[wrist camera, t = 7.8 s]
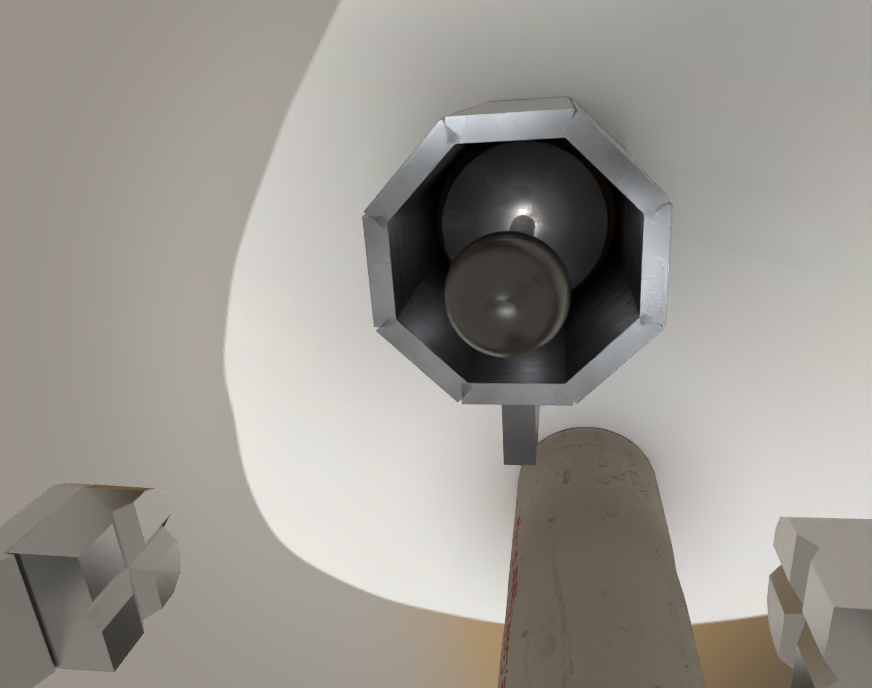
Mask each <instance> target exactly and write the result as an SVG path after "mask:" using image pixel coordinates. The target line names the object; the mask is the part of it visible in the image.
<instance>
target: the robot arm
mask: <svg viewBox="0 0 872 688" xmlns="http://www.w3.org/2000/svg"><path fill="white" fill-rule="evenodd" d="M169 516H170V511H169V508H168V505H167V501H166V498H165V495H164V494H163V493H161V492H160V491H158V490H156V489H155V488H140V487H126V486H110V485H90V484H75V483H63V484H57V485H52V486H51V487H50V488H48V489H47V490H46V491H45V492H43V493H42V494H41V495H40V496H38V497H37V498H36V499H35V500H33V501H32V502H31V503H30V504H28V505H27V506H26V507H25V508H23V509H22V510H21V511H20V512H19V513H17V514H16V515H15V516H13V517H12V518H11V519H10V520H8V521H7V522H6V523H4V524H3V525H2V526H1V527H0V688H33V687H34V686H35V685H37V684H38V683H40V682H41V681H42V680H44V679H45V678H47V677H48V676H50V675H51V674H53V673H54V672H55V668H61V669H75V670H90V671H105V672H115V671H116V669H117V668H118V667H119V665H120V664H121V663H122V661H123V660H124V659H125V657H126V656H127V655H128V653H129V652H130V651H131V649H132V648H133V647H134V646H135V644H136V643H137V642H138V640H139V639H140V638H141V636H142V635H143V634H144V627H143V620H144V619H145V618H147V617H149V616H150V615H152V614H154V613H155V612H157V611H159V610H160V609H162V608H163V607H164V605H165V604H166V602H167V601H168V600H169V598H170V597H171V596H172V594H173V592H174V590H175V587H176V584H177V580H178V577H179V574H180V552H179V547H178V543H177V540H176V539H175V538H174V537H173V536H172V535H171V534H170V533H169V532H168V531H167V530H166V529H165V528H164V526H165V524H166V522H167V520H168V518H169ZM774 548H775V550H776V552H777V555H778V557H779V559H780V562H781V564H782V565H780V566H779V567H778V568H777V569H776V570H775V571H774V572H773V573H772V574H771V575H769V584H768V595H767V605H768V620H769V626H770V630H771V635H772V640H773V642H774V645H775V648H776V651H777V654H778V657H779V658H780V659H781V660H782V661H784V662H785V663H786V664H787V665H788V666H790V667H791V668H792V669H793V674H792V681H791V688H872V519H845V518H811V517H780V519H779V521H778V524H777V526H776V531H775V538H774Z"/></svg>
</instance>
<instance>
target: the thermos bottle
mask: <svg viewBox="0 0 872 688" xmlns="http://www.w3.org/2000/svg"><path fill="white" fill-rule="evenodd" d="M498 688H706V684H705V680H704V675H703V671H702V667H701V663H700V659H699V655H698V651H697V647H696V643H695V638H694V634H693V631H692V626H691V622H690V618H689V613H688V609H687V605H686V602H685V598H684V594H683V591H682V588H681V585H680V582H679V579H678V576H677V572H676V568H675V561H674V554H673V549H672V544H671V540H670V535H669V531H668V527H667V523H666V518H665V514H664V510H663V506H662V502H661V498H660V494H659V489H658V485H657V481H656V477H655V473H654V470H653V468H652V466H651V464H650V462H649V460H648V459H647V457H646V456H645V455H644V454H643V452H642V451H641V450H640V449H639V448H638V447H637V446H635V445H634V444H633V443H632V442H631V441H629V440H627V439H625V438H623V437H622V436H620V435H618V434H615V433H612V432H609V431H606V430H601V429H595V428H575V429H570V430H565V431H562V432H559V433H557V434H554V435H551V436H550V437H548V438H547V439H545V440H543V441H542V442H540V443H539V444H538V445H537V460H536V465H523V466H522V468H521V471H520V476H519V482H518V491H517V501H516V511H515V521H514V531H513V541H512V551H511V561H510V571H509V582H508V596H507V608H506V618H505V626H504V634H503V642H502V652H501V661H500V671H499V681H498Z"/></svg>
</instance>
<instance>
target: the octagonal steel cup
mask: <svg viewBox="0 0 872 688" xmlns="http://www.w3.org/2000/svg"><path fill="white" fill-rule="evenodd" d="M517 140H537V141H543V142H547V143H551V144H554V145H556V146H559V147H561V148H563V149H565V150H567V151H568V152H570V153H572V154H573V155H575V156H576V157H577V158H578V159H579V160H581V161H582V162H583V163H584V164H585V165H586V167H587V168H588V169H589V170H590V171H591V173H592V174H593V176H594V177H595V179H596V181H597V183H598V185H599V187H600V189H601V191H602V194H603V197H604V201H605V205H606V210H607V223H608V224H607V235H606V239H605V244H604V247H603V250H602V253H601V255H600V257H599V259H598V261H597V263H596V265H595V266H594V268H593V269H592V270H591V272H590V273H589V274H588V276H587V277H586V278H585V279H584V280H583V281H582V282H581V283H580V284H579V285H577V286H576V287H575V288H574V289H572V290H571V303H570V308H569V312H568V315H567V318H566V320H565V322H564V324H563V326H562V327H561V329H560V330H559V332H558V333H557V334H556V336H555V337H554V338H553V339H552V340H551V341H550V342H548V343H547V344H546V345H545V346H543V347H542V348H540V349H538V350H536V351H534V352H532V353H530V354H527V355H524V356H519V357H512V358H502V357H495V356H490V355H487V354H484V353H482V352H480V351H477V350H476V349H474V348H472V347H471V346H470V345H468V344H467V343H466V342H465V341H464V340H463V339H462V338H461V337H460V336H459V335H458V334H457V332H456V331H455V330H454V328H453V327H452V325H451V323H450V321H449V319H448V316H447V313H446V309H445V303H444V285H445V280H446V277H447V273H448V271H449V268H450V266H451V264H452V262H451V260H450V258H449V255H448V253H447V250H446V247H445V243H444V239H443V231H442V217H443V210H444V205H445V202H446V198H447V196H448V193H449V191H450V188H451V187H452V185H453V183H454V181H455V180H456V178H457V177H458V176H459V174H460V173H461V172H462V170H463V169H464V168H465V167H466V166H467V165H468V164H469V163H470V162H471V161H472V160H474V159H475V158H476V157H477V156H479V155H480V154H481V153H483V152H485V151H487V150H488V149H490V148H492V147H495V146H497V145H500V144H503V143H507V142H510V141H517ZM669 201H670V199H669V198H668V197H667V195H666V194H665V193H664V192H663V191H662V190H661V189H660V188H659V187H658V186H657V184H656V183H655V182H654V181H653V180H652V179H651V178H650V177H649V176H648V175H647V173H646V172H645V171H644V170H643V169H642V168H641V167H640V166H639V165H638V164H637V163H636V161H635V160H634V159H633V158H632V157H631V156H630V155H629V154H628V153H627V152H626V151H625V150H624V149H623V148H622V147H621V146H620V145H619V144H618V143H617V142H616V141H615V140H614V139H613V138H612V137H611V136H610V135H609V134H608V133H607V132H606V131H605V130H604V129H603V128H602V127H601V126H600V125H599V124H598V123H597V122H596V121H595V120H594V119H593V118H592V117H591V116H590V115H589V114H587V113H586V112H585V111H584V110H583V109H582V108H581V107H580V106H579V105H578V104H577V103H576V102H575V101H574V100H573V99H572V98H570V99H569V98H568V96H565V97H550V98H535V99H520V100H505V101H490V102H486V103H483V104H481V105H478V106H475V107H472V108H469V109H466V110H463V111H460V112H457V113H454V114H451V115H449V116H446V117H445V118H442V119H440V120H439V121H438V123H437V124H436V125H435V126H434V127H433V129H432V130H431V131H430V132H429V134H428V135H427V136H426V137H425V138H424V140H423V141H422V142H421V143H420V144H419V146H418V147H417V148H416V149H415V150H414V152H413V153H412V154H411V155H410V156H409V158H408V159H407V160H406V161H405V162H404V164H403V165H402V166H401V167H400V169H399V170H398V171H397V172H396V173H395V175H394V176H393V177H392V178H391V179H390V181H389V182H388V183H387V184H386V185H385V187H384V188H383V189H382V190H381V191H380V193H379V194H378V195H377V196H376V198H375V199H374V200H373V201H372V202H371V204H370V205H369V206H368V207H367V208H366V210H365V211H364V212H365V213H366V214H365V215H364V216H362V217H363V227H364V236H365V246H366V255H367V265H368V274H369V284H370V293H371V303H372V312H373V322H374V327H379V328H378V329H377V332H378V333H379V334H380V335H381V336H383V337H384V338H385V339H386V340H387V341H388V342H389V343H391V344H392V345H393V346H394V347H395V348H396V349H397V350H399V351H400V352H401V353H402V354H403V355H404V356H405V357H407V358H408V359H409V360H410V361H411V362H412V363H413V364H415V365H416V366H417V367H418V368H419V369H420V370H421V371H423V372H424V373H425V374H426V375H427V376H428V377H429V378H431V379H432V380H433V381H434V382H435V383H436V384H437V385H439V386H440V387H441V388H442V389H443V390H444V391H445V392H447V393H448V394H449V395H450V396H451V397H452V398H453V399H455V400H456V401H457V402H459V401H460V400H461V399H462V404H500V405H502V423H503V450H504V465H536V460H537V443H538V426H539V409H540V405H572V400H573V401H574V402H575V403H579V402H580V401H581V400H582V399H583V398H584V397H585V396H587V395H588V394H589V393H590V392H591V391H592V390H594V389H595V388H596V387H597V386H598V385H599V384H600V383H602V382H603V381H604V380H605V379H606V378H607V377H609V376H610V375H611V374H612V373H613V372H614V371H616V370H617V369H618V368H619V367H620V366H621V365H622V364H624V363H625V362H626V361H627V360H628V359H629V358H631V357H632V356H633V355H634V354H635V353H636V352H637V351H639V350H640V349H641V348H642V347H643V346H644V345H646V344H647V343H648V342H649V341H650V340H651V339H652V338H654V337H655V336H656V335H657V334H658V333H659V332H661V331H662V330H663V327H662V325H666V310H667V292H668V273H669V255H670V237H671V219H672V204H671V203H670V202H669Z"/></svg>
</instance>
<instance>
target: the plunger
mask: <svg viewBox="0 0 872 688" xmlns="http://www.w3.org/2000/svg"><path fill="white" fill-rule="evenodd" d="M607 224H608V223H607V210H606V205H605V201H604V197H603V194H602V191H601V189H600V187H599V185H598V183H597V181H596V179H595V177H594V176H593V174H592V173H591V171H590V170H589V169H588V168H587V167H586V165H585V164H584V163H583V162H582V161H581V160H579V159H578V158H577V157H576V156H575V155H573V154H572V153H570V152H568V151H567V150H565V149H563V148H561V147H559V146H556V145H554V144H551V143H547V142H543V141H537V140H517V141H510V142H507V143H503V144H500V145H497V146H495V147H492V148H490V149H488V150H487V151H485V152H483V153H481V154H480V155H479V156H477V157H476V158H475V159H474V160H472V161H471V162H470V163H469V164H468V165H467V166H466V167H465V168H464V169H463V170H462V172H461V173H460V174H459V176H458V177H457V178H456V180H455V181H454V183H453V185H452V187H451V188H450V191H449V193H448V196H447V198H446V202H445V205H444V210H443V217H442V231H443V239H444V243H445V247H446V250H447V253H448V255H449V258H450V260H451V262H452V264H451V266H450V268H449V271H448V273H447V277H446V280H445V285H444V303H445V309H446V313H447V316H448V319H449V321H450V323H451V325H452V327H453V328H454V330H455V331H456V332H457V334H458V335H459V336H460V337H461V338H462V339H463V340H464V341H465V342H466V343H467V344H468V345H470V346H471V347H472V348H474V349H476V350H477V351H480V352H482V353H484V354H487V355H490V356H495V357H502V358H512V357H519V356H524V355H527V354H530V353H532V352H534V351H536V350H538V349H540V348H542V347H543V346H545V345H546V344H547V343H548V342H550V341H551V340H552V339H553V338H554V337H555V336H556V334H557V333H558V332H559V330H560V329H561V327H562V326H563V324H564V322H565V320H566V318H567V315H568V312H569V308H570V303H571V290H572V289H574V288H575V287H576V286H577V285H579V284H580V283H581V282H582V281H583V280H584V279H585V278H586V277H587V276H588V274H589V273H590V272H591V270H592V269H593V268H594V266H595V265H596V263H597V261H598V259H599V257H600V255H601V253H602V250H603V247H604V244H605V239H606V235H607Z"/></svg>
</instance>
